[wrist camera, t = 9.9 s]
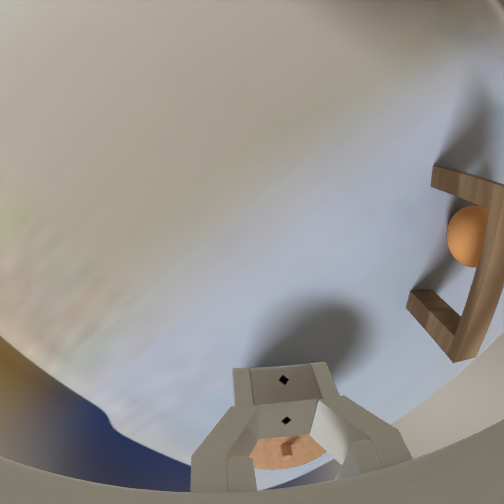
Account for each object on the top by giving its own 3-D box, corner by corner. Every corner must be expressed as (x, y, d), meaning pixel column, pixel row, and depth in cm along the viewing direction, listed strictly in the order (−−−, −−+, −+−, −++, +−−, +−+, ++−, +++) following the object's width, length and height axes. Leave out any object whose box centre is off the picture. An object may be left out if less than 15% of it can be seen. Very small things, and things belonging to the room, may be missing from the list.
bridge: (405, 307, 31) (453, 362, 22) (433, 165, 26) (504, 187, 17) (427, 305, 31) (475, 357, 22) (455, 170, 26) (525, 192, 17)
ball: (476, 191, 27) (437, 202, 26) (517, 215, 22) (480, 229, 21) (469, 241, 30) (432, 255, 29) (505, 268, 25) (468, 287, 24)
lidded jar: (321, 347, 32) (348, 413, 23) (320, 411, 36) (339, 470, 27) (219, 363, 32) (219, 435, 23) (235, 424, 36) (239, 487, 27)
